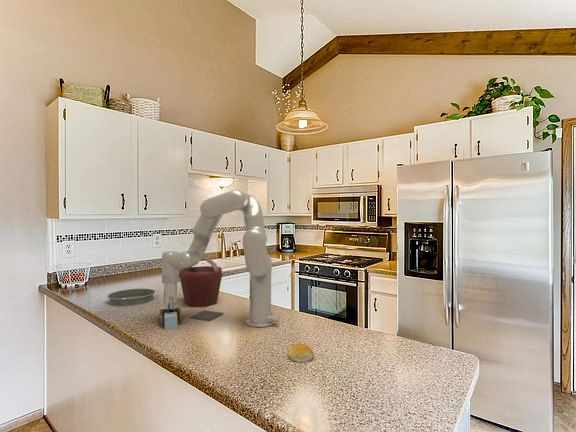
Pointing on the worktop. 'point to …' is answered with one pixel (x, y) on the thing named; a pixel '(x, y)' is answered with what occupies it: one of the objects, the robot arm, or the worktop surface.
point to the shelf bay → (166, 312)
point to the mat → (206, 315)
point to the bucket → (201, 284)
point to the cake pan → (131, 297)
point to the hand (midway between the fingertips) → (170, 319)
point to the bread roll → (300, 353)
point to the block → (170, 320)
